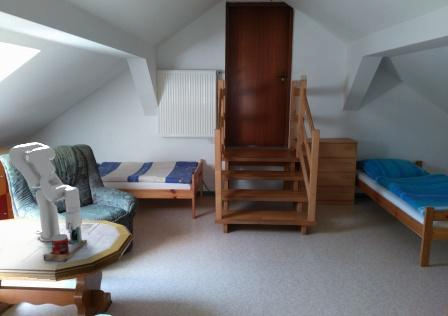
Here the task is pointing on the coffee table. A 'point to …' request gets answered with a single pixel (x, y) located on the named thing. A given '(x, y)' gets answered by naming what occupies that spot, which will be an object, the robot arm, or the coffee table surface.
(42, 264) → the coffee table surface
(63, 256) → the wooden rectangular frame
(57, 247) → the canned food
